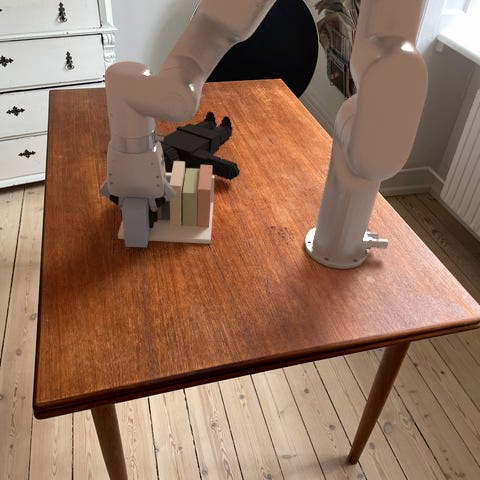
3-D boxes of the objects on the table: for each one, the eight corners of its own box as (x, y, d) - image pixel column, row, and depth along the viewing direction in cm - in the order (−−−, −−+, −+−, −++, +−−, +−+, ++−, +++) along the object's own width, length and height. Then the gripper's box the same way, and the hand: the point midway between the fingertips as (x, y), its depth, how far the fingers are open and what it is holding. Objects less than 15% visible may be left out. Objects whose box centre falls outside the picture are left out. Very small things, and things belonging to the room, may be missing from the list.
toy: (275, 131, 125) (217, 175, 103) (271, 158, 130) (214, 206, 107) (167, 98, 136) (92, 131, 113) (166, 124, 140) (94, 162, 118)
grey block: (154, 212, 102) (152, 177, 96) (146, 247, 93) (144, 210, 88) (134, 211, 101) (131, 176, 96) (125, 246, 93) (121, 209, 87)
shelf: (213, 202, 109) (215, 160, 102) (210, 243, 98) (212, 199, 91) (130, 198, 108) (126, 155, 101) (118, 238, 97) (113, 194, 90)
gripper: (184, 130, 88) (185, 214, 100) (89, 125, 87) (100, 209, 99) (180, 151, 82) (181, 237, 94) (78, 146, 82) (92, 233, 93)
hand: (140, 222), depth 96 cm, fingers closed on grey block, 4 cm apart
